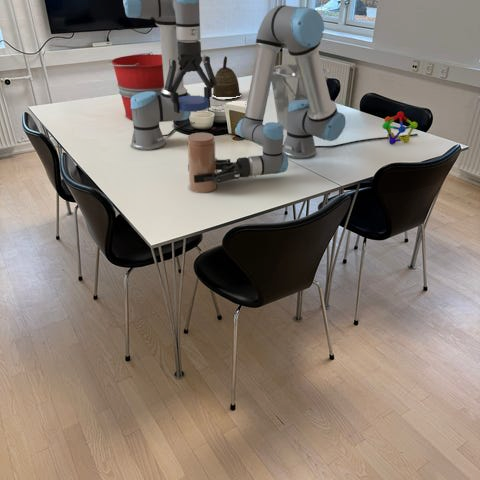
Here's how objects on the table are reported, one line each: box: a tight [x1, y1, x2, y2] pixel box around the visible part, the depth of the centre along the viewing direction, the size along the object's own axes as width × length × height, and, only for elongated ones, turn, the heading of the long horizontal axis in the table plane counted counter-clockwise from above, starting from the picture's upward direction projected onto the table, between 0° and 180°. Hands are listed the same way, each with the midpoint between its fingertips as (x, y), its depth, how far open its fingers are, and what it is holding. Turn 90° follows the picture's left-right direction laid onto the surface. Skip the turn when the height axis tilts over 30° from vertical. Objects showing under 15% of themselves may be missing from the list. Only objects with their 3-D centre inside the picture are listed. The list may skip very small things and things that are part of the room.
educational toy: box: [382, 110, 418, 145], centre depth 207 cm, size 16×13×15 cm
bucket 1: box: [108, 51, 164, 121], centre depth 240 cm, size 35×35×30 cm
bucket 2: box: [271, 63, 330, 130], centre depth 226 cm, size 30×30×28 cm
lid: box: [179, 95, 209, 112], centre depth 151 cm, size 11×11×2 cm
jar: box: [187, 132, 217, 194], centre depth 163 cm, size 10×10×20 cm
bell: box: [212, 56, 242, 97], centre depth 278 cm, size 19×26×20 cm
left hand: (192, 109), depth 153 cm, fingers closed on lid, 11 cm apart
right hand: (191, 173), depth 164 cm, fingers closed on jar, 10 cm apart
